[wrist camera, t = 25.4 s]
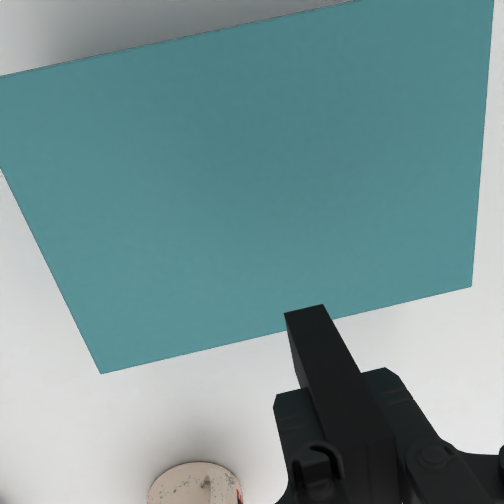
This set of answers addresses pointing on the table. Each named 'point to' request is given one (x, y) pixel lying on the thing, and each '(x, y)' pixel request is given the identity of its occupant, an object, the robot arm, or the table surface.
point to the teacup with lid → (196, 486)
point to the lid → (254, 172)
